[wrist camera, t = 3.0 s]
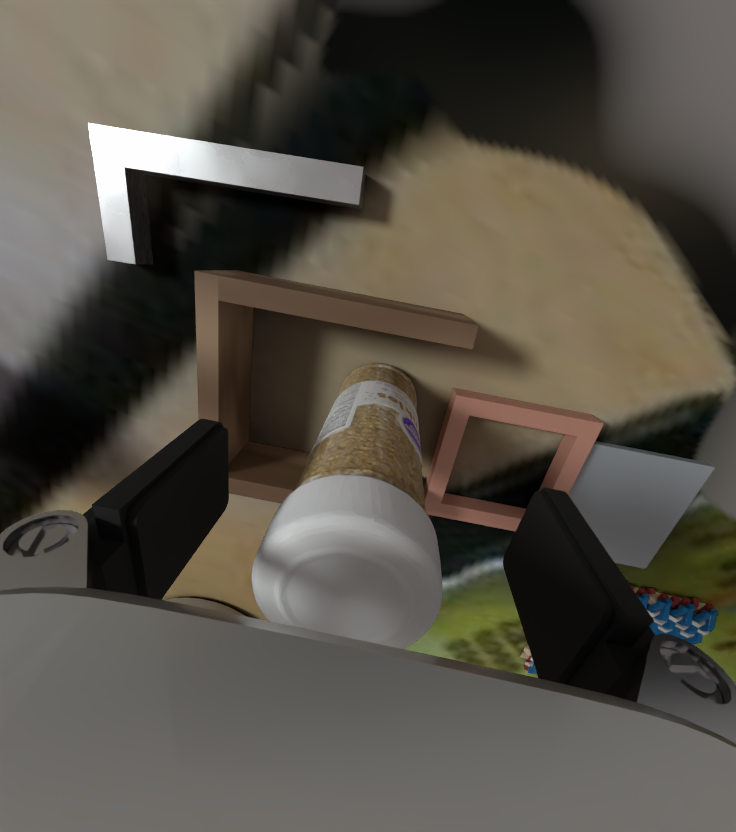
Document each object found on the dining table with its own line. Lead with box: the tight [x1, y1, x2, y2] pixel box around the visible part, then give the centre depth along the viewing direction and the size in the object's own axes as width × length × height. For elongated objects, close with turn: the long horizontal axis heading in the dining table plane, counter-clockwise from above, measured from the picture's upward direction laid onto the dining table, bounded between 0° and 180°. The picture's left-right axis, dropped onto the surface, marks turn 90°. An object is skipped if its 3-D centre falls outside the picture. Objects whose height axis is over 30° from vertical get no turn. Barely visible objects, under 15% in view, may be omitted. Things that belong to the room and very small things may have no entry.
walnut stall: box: [195, 270, 479, 503], centre depth 18 cm, size 11×12×4 cm
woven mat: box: [520, 584, 719, 674], centre depth 26 cm, size 10×11×2 cm
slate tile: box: [568, 441, 715, 569], centre depth 21 cm, size 8×7×1 cm
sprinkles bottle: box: [252, 363, 443, 649], centre depth 14 cm, size 5×4×14 cm
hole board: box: [424, 388, 604, 531], centre depth 21 cm, size 8×8×1 cm
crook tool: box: [88, 123, 366, 264], centre depth 16 cm, size 12×5×1 cm, turn 81°
